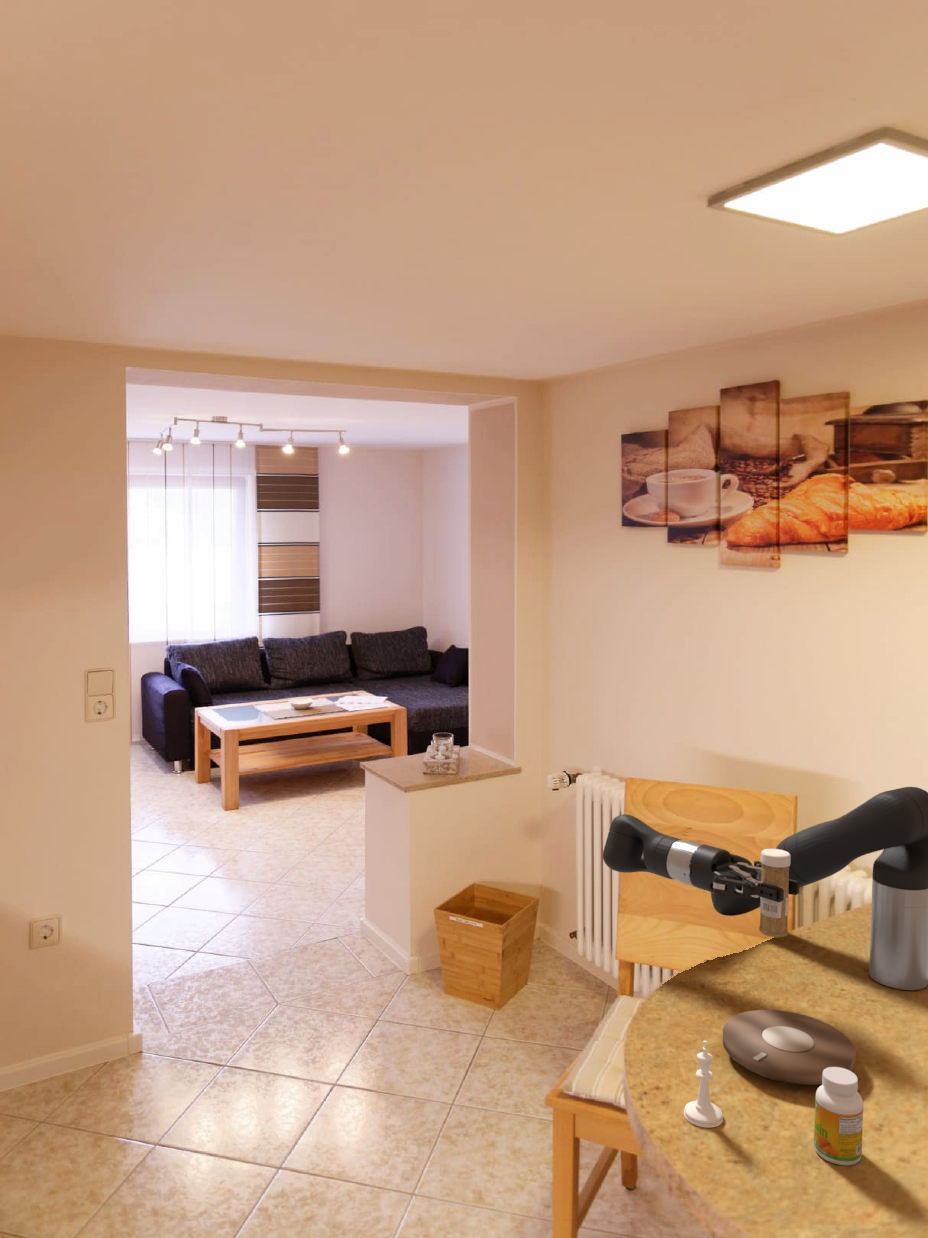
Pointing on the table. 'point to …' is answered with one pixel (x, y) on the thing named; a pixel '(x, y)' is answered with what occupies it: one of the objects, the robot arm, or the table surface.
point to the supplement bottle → (838, 1117)
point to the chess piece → (703, 1096)
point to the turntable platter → (786, 1045)
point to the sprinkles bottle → (777, 875)
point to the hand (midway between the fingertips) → (789, 892)
